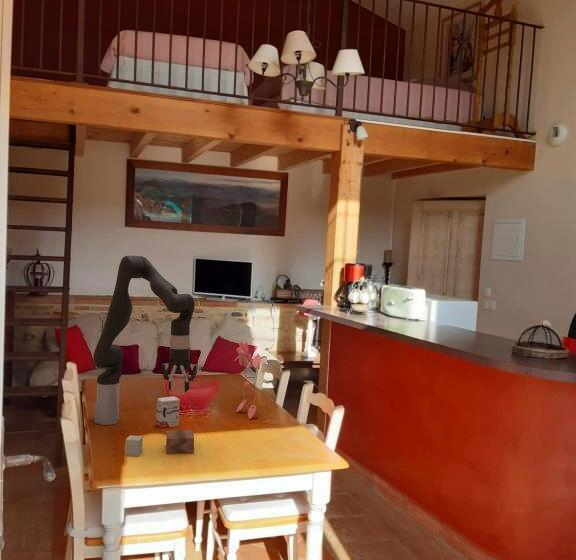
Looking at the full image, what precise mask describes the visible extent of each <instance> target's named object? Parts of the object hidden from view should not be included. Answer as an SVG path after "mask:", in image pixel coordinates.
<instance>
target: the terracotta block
mask: <svg viewBox="0 0 576 560" xmlns="http://www.w3.org/2000/svg"><path fill="white" fill-rule="evenodd" d="M185 382H186V381H185V378H184V376H183V375H175V376H174V377H173V378H171V391H170V394H171V395H182V396H183V395H185V394H186V393H187V392H185Z"/></svg>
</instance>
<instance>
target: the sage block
mask: <svg viewBox="0 0 576 560" xmlns="http://www.w3.org/2000/svg"><path fill="white" fill-rule="evenodd" d="M143 438H144V436H143V435H128V437H126V439H125V445H124V457H125V456H126V457H140V455H141V454H142V453H143V442H144V441H143V440H144V439H143Z"/></svg>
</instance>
